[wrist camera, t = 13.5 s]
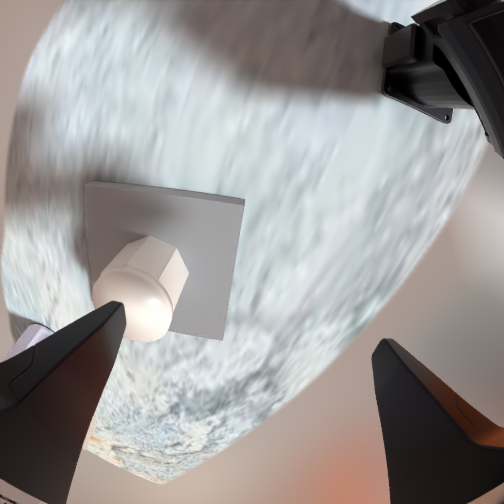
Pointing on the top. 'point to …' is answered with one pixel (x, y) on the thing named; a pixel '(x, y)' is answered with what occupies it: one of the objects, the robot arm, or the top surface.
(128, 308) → the cap
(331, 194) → the top surface
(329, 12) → the top surface
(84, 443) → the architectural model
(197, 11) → the top surface
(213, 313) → the post base
